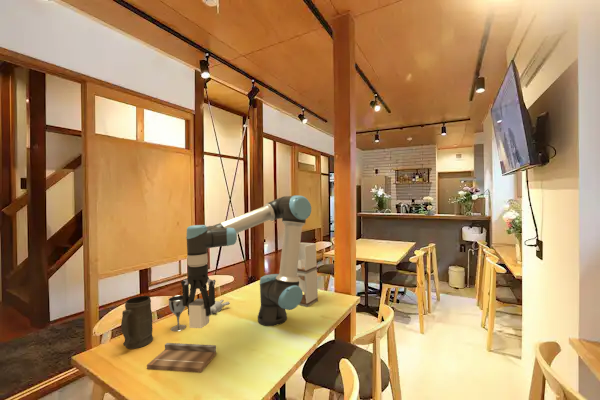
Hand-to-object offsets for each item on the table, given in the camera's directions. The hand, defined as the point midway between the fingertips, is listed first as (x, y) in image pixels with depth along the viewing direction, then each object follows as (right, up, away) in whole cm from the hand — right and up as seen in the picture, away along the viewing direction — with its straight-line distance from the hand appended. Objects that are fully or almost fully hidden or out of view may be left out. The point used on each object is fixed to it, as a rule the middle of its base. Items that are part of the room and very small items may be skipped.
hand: (199, 323), depth 106 cm
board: (-6, -15, 0) cm, 16 cm away
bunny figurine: (-9, -15, +48) cm, 51 cm away
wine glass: (-21, -16, +29) cm, 39 cm away
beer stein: (-33, -16, +13) cm, 39 cm away
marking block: (0, 0, 0) cm, 0 cm away
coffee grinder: (+43, -13, +57) cm, 73 cm away
